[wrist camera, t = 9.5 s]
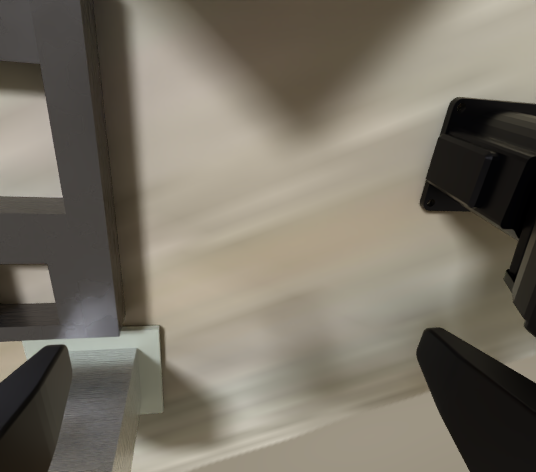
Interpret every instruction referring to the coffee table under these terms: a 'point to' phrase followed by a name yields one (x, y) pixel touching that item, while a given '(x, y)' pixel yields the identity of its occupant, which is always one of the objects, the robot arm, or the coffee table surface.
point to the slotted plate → (64, 181)
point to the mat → (130, 337)
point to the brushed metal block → (100, 412)
